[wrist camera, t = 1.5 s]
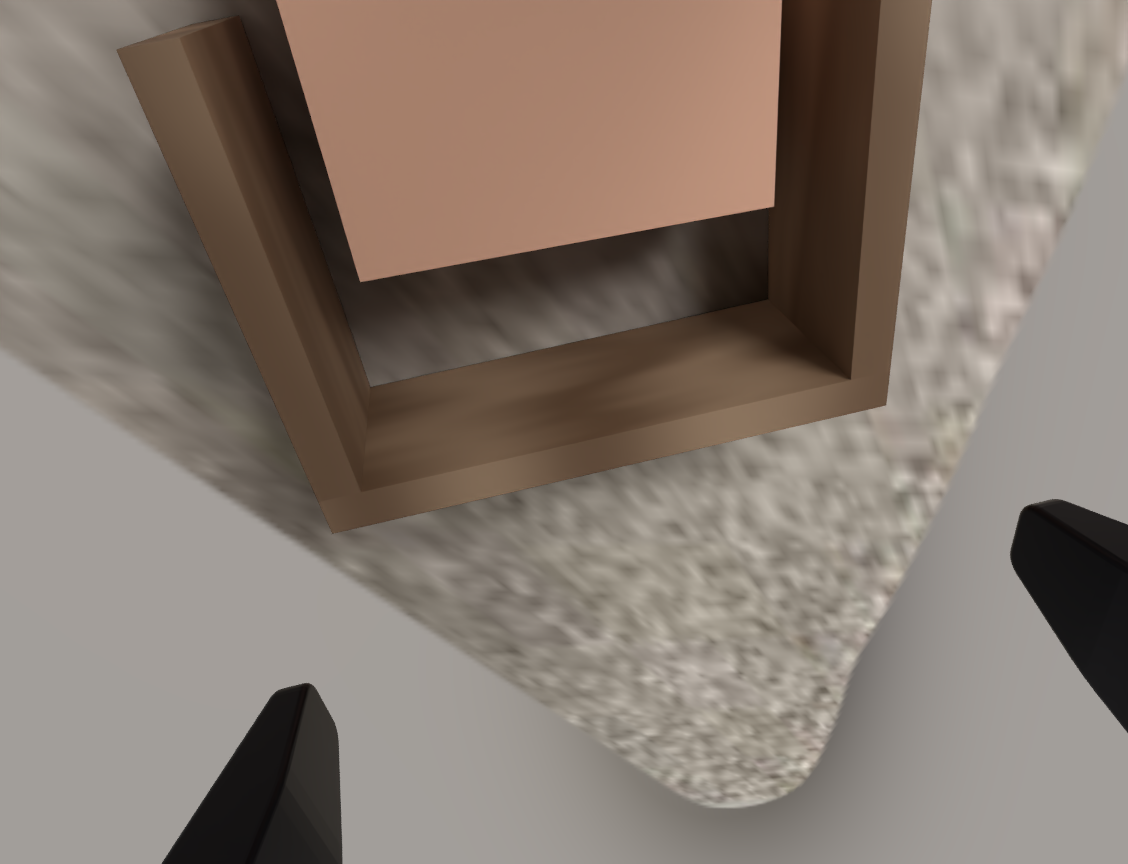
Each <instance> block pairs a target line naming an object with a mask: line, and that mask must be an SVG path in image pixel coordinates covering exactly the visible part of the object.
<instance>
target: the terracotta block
mask: <svg viewBox="0 0 1128 864" xmlns="http://www.w3.org/2000/svg"><path fill="white" fill-rule="evenodd" d="M276 1H277V4H278V8H279V11H280V15H281V18H282V21H283V25H284V28H285V31H286V35H287V38H288V41H289V45H290V48H291V52H292V55H293V58H294V62H295V65H296V68H297V72H298V75H299V78H300V82H301V85H302V89H303V92H304V95H305V99H306V102H307V105H308V109H309V112H310V115H311V119H312V122H313V125H314V129H315V132H316V136H317V139H318V142H319V146H320V149H321V152H322V156H323V159H324V162H325V166H326V169H327V173H328V176H329V179H330V183H331V186H332V189H333V193H334V196H335V199H336V203H337V206H338V209H339V213H340V216H341V220H342V223H343V226H344V230H345V233H346V236H347V240H348V243H349V246H350V250H351V253H352V257H353V260H354V263H355V267H356V270H357V273H358V277H359V280H360V282H364V281H370V280H375V279H380V278H386V277H391V276H397V275H402V274H408V273H413V272H419V271H424V270H430V269H435V268H441V267H446V266H452V265H457V264H463V263H468V262H473V261H479V260H484V259H490V258H495V257H501V256H506V255H512V254H517V253H523V252H528V251H534V250H539V249H545V248H550V247H556V246H561V245H566V244H572V243H577V242H583V241H588V240H594V239H599V238H605V237H610V236H616V235H621V234H627V233H632V232H638V231H643V230H649V229H654V228H659V227H665V226H670V225H676V224H681V223H687V222H692V221H698V220H703V219H709V218H714V217H720V216H725V215H731V214H736V213H742V212H747V211H752V210H758V209H763V208H769V207H774V195H775V169H776V143H777V117H778V91H779V64H780V38H781V12H782V0H276Z"/></svg>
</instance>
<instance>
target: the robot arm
mask: <svg viewBox="0 0 1128 864" xmlns="http://www.w3.org/2000/svg"><path fill="white" fill-rule="evenodd" d="M1010 558H1011V562H1012V565H1013V568H1014V570H1015V572H1016V574H1017V575H1018V577H1019V578H1020V580H1021V581H1022V583H1023V585H1024V586H1025V588H1026V589H1027V591H1028V592H1029V594H1030V595H1031V597H1032V598H1033V600H1034V602H1035V603H1036V605H1037V606H1038V608H1039V609H1040V611H1041V612H1042V614H1043V616H1044V617H1045V619H1046V620H1047V622H1048V623H1049V625H1050V626H1051V628H1052V630H1053V631H1054V633H1055V634H1056V635H1057V637H1058V639H1059V640H1060V642H1061V644H1062V645H1063V646H1064V648H1065V650H1066V651H1067V653H1068V654H1069V656H1070V657H1071V659H1072V660H1073V662H1074V663H1075V665H1076V666H1077V668H1078V669H1079V671H1080V672H1081V673H1082V675H1083V676H1084V678H1085V679H1086V680H1087V682H1088V683H1089V684H1090V686H1091V687H1092V688H1093V689H1094V691H1095V692H1096V693H1097V695H1098V696H1099V697H1100V699H1101V700H1102V701H1103V702H1104V704H1105V705H1106V706H1107V707H1108V708H1109V710H1110V711H1111V712H1112V714H1113V715H1114V716H1115V717H1116V719H1117V720H1118V721H1119V722H1120V724H1121V725H1122V726H1123V728H1124V729H1125V730H1126V731H1127V733H1128V525H1127V524H1124V523H1122V522H1119V521H1117V520H1114V519H1111V518H1109V517H1106V516H1103V515H1100V514H1098V513H1095V512H1093V511H1090V510H1088V509H1085V508H1082V507H1080V506H1077V505H1075V504H1072V503H1069V502H1066V501H1063V500H1059V499H1052V500H1047V501H1043V502H1039V503H1035V504H1031V505H1028V506H1026V507H1025V508H1024V509H1023V510H1022V511H1021V513H1020V515H1019V520H1018V523H1017V527H1016V531H1015V536H1014V539H1013V543H1012V547H1011V551H1010ZM339 773H340V772H339V743H338V733H337V729H336V726H335V723H334V721H333V719H332V717H331V715H330V713H329V712H328V710H327V708H326V706H325V704H324V702H323V701H322V699H321V697H320V695H319V693H318V692H317V690H316V688H315V687H314V686H313V685H312V684H309V683H304V684H300V685H296V686H291V687H287V688H284V689H281V690H278V691H277V692H275V693H274V694H273V695H272V696H271V698H270V699H269V701H268V702H267V704H266V705H265V707H264V709H263V710H262V711H261V713H260V715H259V716H258V717H257V719H256V721H255V722H254V724H253V725H252V727H251V728H250V730H249V731H248V733H247V734H246V736H245V738H244V739H243V741H242V742H241V743H240V745H239V746H238V748H237V749H236V751H235V753H234V754H233V756H232V757H231V759H230V760H229V762H228V763H227V765H226V766H225V768H224V769H223V771H222V772H221V774H220V776H219V777H218V779H217V780H216V781H215V783H214V784H213V786H212V788H211V789H210V791H209V792H208V794H207V795H206V797H205V798H204V800H203V801H202V803H201V804H200V806H199V807H198V809H197V811H196V812H195V813H194V815H193V816H192V818H191V820H190V821H189V823H188V824H187V826H186V827H185V829H184V830H183V832H182V833H181V835H180V836H179V838H178V839H177V841H176V842H175V844H174V845H173V847H172V849H171V850H170V852H169V853H168V855H167V856H166V858H165V859H164V861H163V862H162V864H342V831H341V830H342V829H341V802H340V774H339Z"/></svg>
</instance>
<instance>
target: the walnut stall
mask: <svg viewBox="0 0 1128 864" xmlns="http://www.w3.org/2000/svg"><path fill="white" fill-rule="evenodd" d="M931 5H932V0H782V12H781V38H780V64H779V91H778V117H777V143H776V169H775V195H774V207H769V227H768V300H764V301H759V302H755V303H750V304H745V305H741V306H736V307H732V308H727V309H723V310H718V311H714V312H709V313H705V314H700V315H696V316H691V317H687V318H682V319H678V320H673V321H669V322H664V323H659V324H655V325H650V326H646V327H641V328H637V329H632V330H628V331H623V332H619V333H614V334H610V335H605V336H601V337H596V338H592V339H587V340H583V341H578V342H573V343H569V344H564V345H560V346H555V347H551V348H546V349H542V350H537V351H533V352H528V353H524V354H519V355H515V356H510V357H506V358H501V359H497V360H492V361H488V362H483V363H478V364H474V365H469V366H465V367H460V368H456V369H451V370H447V371H442V372H438V373H433V374H429V375H424V376H420V377H415V378H411V379H406V380H402V381H397V382H392V383H388V384H383V385H379V386H374V387H370V385H369V382H368V379H367V376H366V373H365V370H364V368H363V365H362V362H361V359H360V356H359V353H358V351H357V348H356V345H355V342H354V339H353V336H352V334H351V331H350V328H349V325H348V322H347V320H346V317H345V314H344V311H343V308H342V305H341V303H340V300H339V297H338V294H337V291H336V288H335V286H334V283H333V280H332V277H331V274H330V271H329V269H328V266H327V263H326V260H325V257H324V254H323V252H322V249H321V246H320V243H319V240H318V237H317V235H316V232H315V229H314V226H313V223H312V221H311V218H310V215H309V212H308V209H307V206H306V204H305V201H304V198H303V195H302V192H301V189H300V187H299V184H298V181H297V178H296V175H295V172H294V170H293V167H292V164H291V161H290V158H289V155H288V153H287V150H286V147H285V144H284V141H283V138H282V136H281V133H280V130H279V127H278V124H277V122H276V119H275V116H274V113H273V110H272V107H271V105H270V102H269V99H268V96H267V93H266V90H265V88H264V85H263V82H262V79H261V76H260V73H259V71H258V68H257V65H256V62H255V59H254V56H253V54H252V51H251V48H250V45H249V42H248V39H247V37H246V34H245V31H244V28H243V25H242V23H241V20H240V17H239V15H238V16H233V17H227V18H222V19H217V20H212V21H206V22H201V23H196V24H191V25H188V26H185V27H182V28H179V29H177V30H174V31H171V32H168V33H165V34H162V35H159V36H156V37H153V38H150V39H147V40H144V41H141V42H138V43H135V44H132V45H129V46H126V47H123V48H120V49H117V53H118V55H119V57H120V59H121V62H122V64H123V66H124V68H125V70H126V73H127V75H128V77H129V79H130V82H131V84H132V86H133V88H134V91H135V93H136V95H137V97H138V100H139V102H140V104H141V106H142V109H143V111H144V113H145V115H146V117H147V120H148V122H149V124H150V126H151V129H152V131H153V133H154V135H155V138H156V140H157V142H158V144H159V147H160V149H161V151H162V153H163V156H164V158H165V160H166V162H167V164H168V167H169V169H170V171H171V173H172V176H173V178H174V180H175V182H176V185H177V187H178V189H179V191H180V194H181V196H182V198H183V200H184V203H185V205H186V207H187V209H188V211H189V214H190V216H191V218H192V220H193V223H194V225H195V227H196V229H197V232H198V234H199V236H200V238H201V241H202V243H203V245H204V247H205V250H206V252H207V254H208V256H209V258H210V261H211V263H212V265H213V267H214V270H215V272H216V274H217V276H218V279H219V281H220V283H221V285H222V288H223V290H224V292H225V294H226V297H227V299H228V301H229V303H230V305H231V308H232V310H233V312H234V314H235V317H236V319H237V321H238V323H239V326H240V328H241V330H242V332H243V335H244V337H245V339H246V341H247V344H248V346H249V348H250V350H251V352H252V355H253V357H254V359H255V361H256V364H257V366H258V368H259V370H260V373H261V375H262V377H263V379H264V382H265V384H266V386H267V388H268V391H269V393H270V395H271V397H272V399H273V402H274V404H275V406H276V408H277V411H278V413H279V415H280V417H281V420H282V422H283V424H284V426H285V429H286V431H287V433H288V435H289V438H290V440H291V442H292V444H293V446H294V449H295V451H296V453H297V455H298V458H299V460H300V462H301V464H302V467H303V469H304V471H305V473H306V476H307V478H308V480H309V482H310V485H311V487H312V489H313V491H314V493H315V496H316V498H317V500H318V502H319V505H320V507H321V509H322V511H323V514H324V516H325V518H326V520H327V523H328V525H329V527H330V529H331V532H332V534H334V533H338V532H342V531H347V530H351V529H355V528H359V527H364V526H368V525H372V524H377V523H381V522H385V521H390V520H394V519H398V518H403V517H407V516H411V515H416V514H420V513H424V512H428V511H433V510H437V509H441V508H446V507H450V506H454V505H459V504H463V503H467V502H472V501H476V500H480V499H484V498H489V497H493V496H497V495H502V494H506V493H510V492H515V491H519V490H523V489H528V488H532V487H536V486H540V485H545V484H549V483H553V482H558V481H562V480H566V479H571V478H575V477H579V476H584V475H588V474H592V473H597V472H601V471H605V470H609V469H614V468H618V467H622V466H627V465H631V464H635V463H640V462H644V461H648V460H653V459H657V458H661V457H665V456H670V455H674V454H678V453H683V452H687V451H691V450H696V449H700V448H704V447H709V446H713V445H717V444H722V443H726V442H730V441H734V440H739V439H743V438H747V437H752V436H756V435H760V434H765V433H769V432H773V431H778V430H782V429H786V428H790V427H795V426H799V425H803V424H808V423H812V422H816V421H821V420H825V419H829V418H834V417H838V416H842V415H846V414H851V413H855V412H859V411H864V410H868V409H872V408H877V407H881V406H885V405H886V402H887V393H888V384H889V375H890V367H891V358H892V349H893V340H894V331H895V322H896V314H897V305H898V296H899V287H900V278H901V269H902V261H903V252H904V243H905V234H906V225H907V217H908V208H909V199H910V190H911V181H912V172H913V164H914V155H915V146H916V137H917V128H918V120H919V111H920V102H921V93H922V84H923V75H924V67H925V58H926V49H927V40H928V31H929V23H930V14H931Z"/></svg>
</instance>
